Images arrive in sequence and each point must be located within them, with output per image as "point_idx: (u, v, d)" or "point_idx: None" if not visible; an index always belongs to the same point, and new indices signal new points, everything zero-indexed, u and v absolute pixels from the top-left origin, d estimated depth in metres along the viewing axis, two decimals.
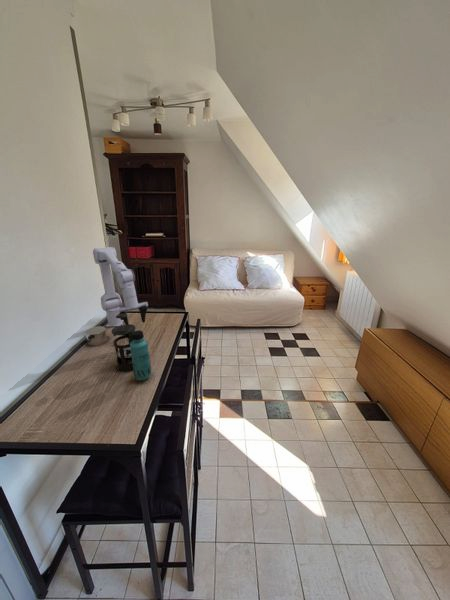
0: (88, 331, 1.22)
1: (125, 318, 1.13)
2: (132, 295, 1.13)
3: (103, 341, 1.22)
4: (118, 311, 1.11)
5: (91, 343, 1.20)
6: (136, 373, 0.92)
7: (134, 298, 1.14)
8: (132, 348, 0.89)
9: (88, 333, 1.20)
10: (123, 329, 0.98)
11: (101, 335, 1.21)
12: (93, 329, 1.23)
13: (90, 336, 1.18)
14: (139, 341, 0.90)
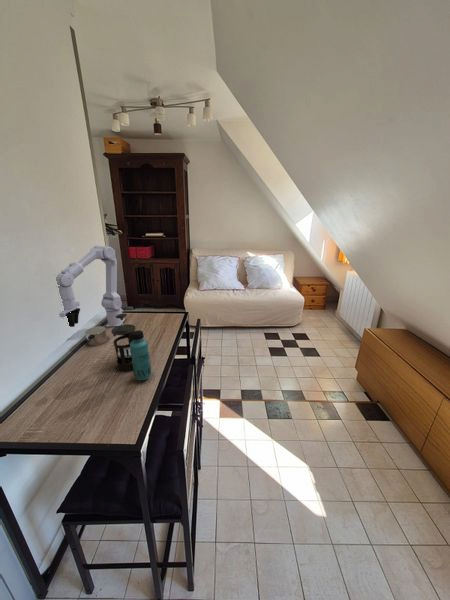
0: (88, 331, 1.22)
1: None
2: None
3: (103, 341, 1.22)
4: None
5: (91, 343, 1.20)
6: (136, 373, 0.92)
7: None
8: (132, 348, 0.89)
9: (88, 333, 1.20)
10: (123, 329, 0.98)
11: (101, 335, 1.21)
12: (93, 329, 1.23)
13: (90, 336, 1.18)
14: (139, 341, 0.90)
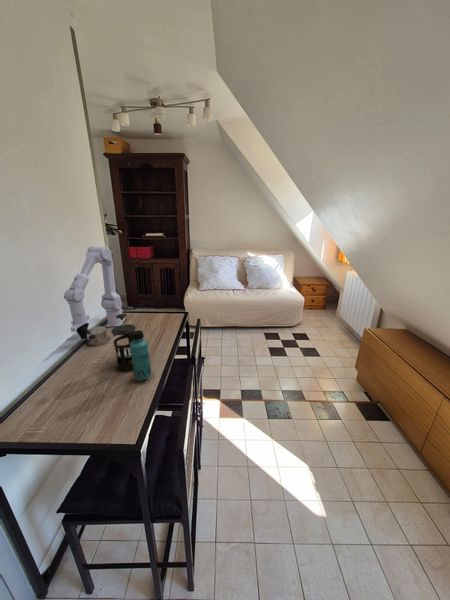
0: (88, 331, 1.22)
1: None
2: (73, 313, 1.16)
3: (104, 341, 1.22)
4: None
5: (92, 343, 1.20)
6: (136, 373, 0.92)
7: None
8: (132, 348, 0.89)
9: (89, 333, 1.20)
10: (123, 329, 0.98)
11: (102, 335, 1.21)
12: (94, 329, 1.23)
13: (91, 336, 1.18)
14: (139, 341, 0.90)
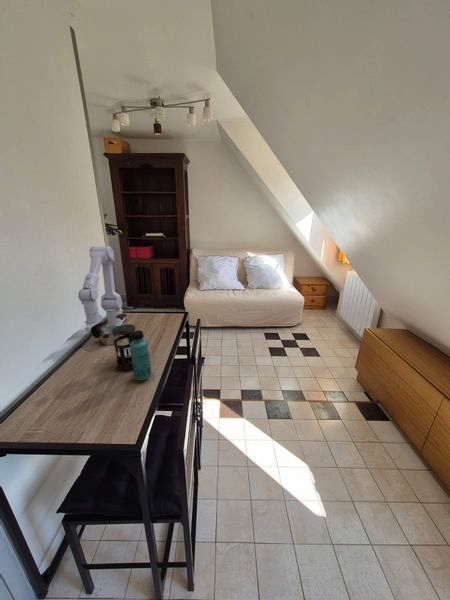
0: (102, 330, 1.22)
1: None
2: (89, 313, 1.16)
3: None
4: None
5: (105, 342, 1.20)
6: (136, 373, 0.92)
7: None
8: (132, 348, 0.89)
9: (102, 332, 1.20)
10: (123, 329, 0.98)
11: None
12: (107, 328, 1.24)
13: (105, 335, 1.18)
14: (139, 341, 0.90)
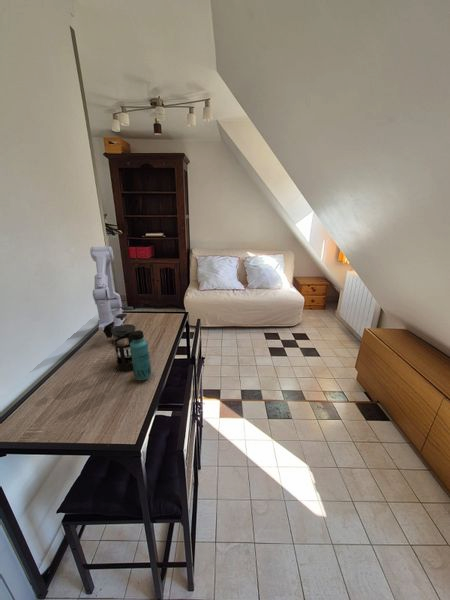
0: None
1: None
2: (104, 312, 1.17)
3: None
4: None
5: (118, 342, 1.21)
6: (136, 373, 0.92)
7: None
8: (132, 348, 0.89)
9: None
10: (123, 329, 0.98)
11: None
12: None
13: (118, 335, 1.19)
14: (139, 341, 0.90)
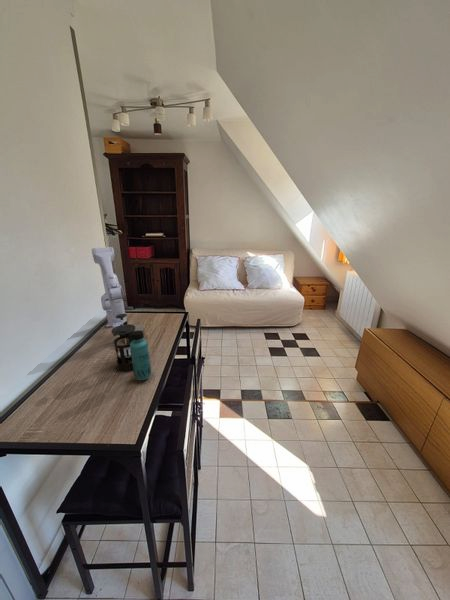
0: None
1: None
2: (119, 311, 1.18)
3: None
4: None
5: None
6: (136, 373, 0.92)
7: (112, 314, 1.19)
8: (132, 348, 0.89)
9: None
10: (123, 329, 0.98)
11: None
12: None
13: None
14: (139, 341, 0.90)
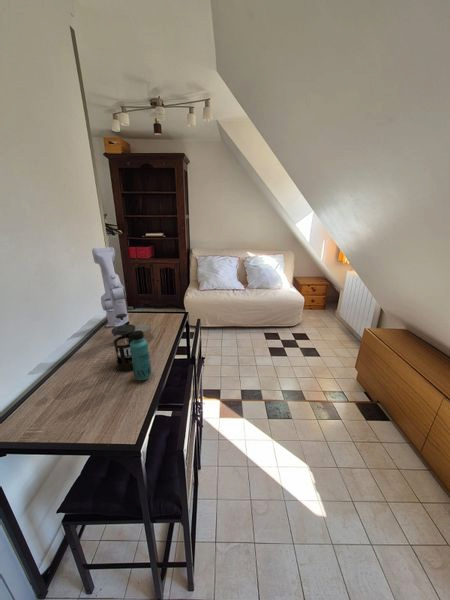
0: None
1: None
2: (122, 311, 1.18)
3: (149, 338, 1.24)
4: None
5: None
6: (136, 373, 0.92)
7: (114, 314, 1.19)
8: (132, 348, 0.89)
9: None
10: (123, 329, 0.98)
11: (148, 332, 1.23)
12: (138, 327, 1.25)
13: None
14: (139, 341, 0.90)
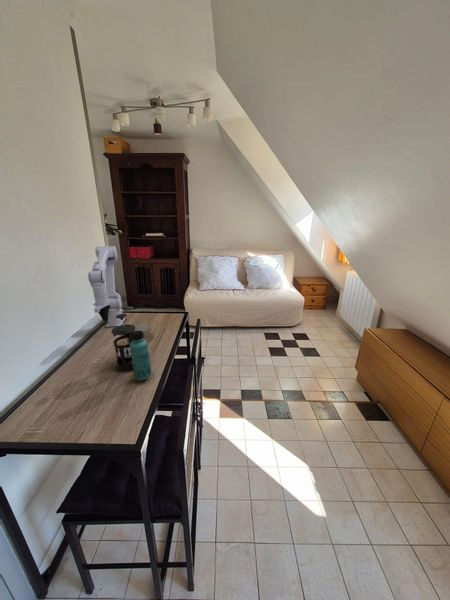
0: None
1: None
2: (99, 295, 1.18)
3: (149, 338, 1.24)
4: None
5: None
6: (136, 373, 0.92)
7: None
8: (132, 348, 0.89)
9: None
10: (123, 329, 0.98)
11: (148, 332, 1.23)
12: (138, 327, 1.25)
13: None
14: (139, 341, 0.90)
